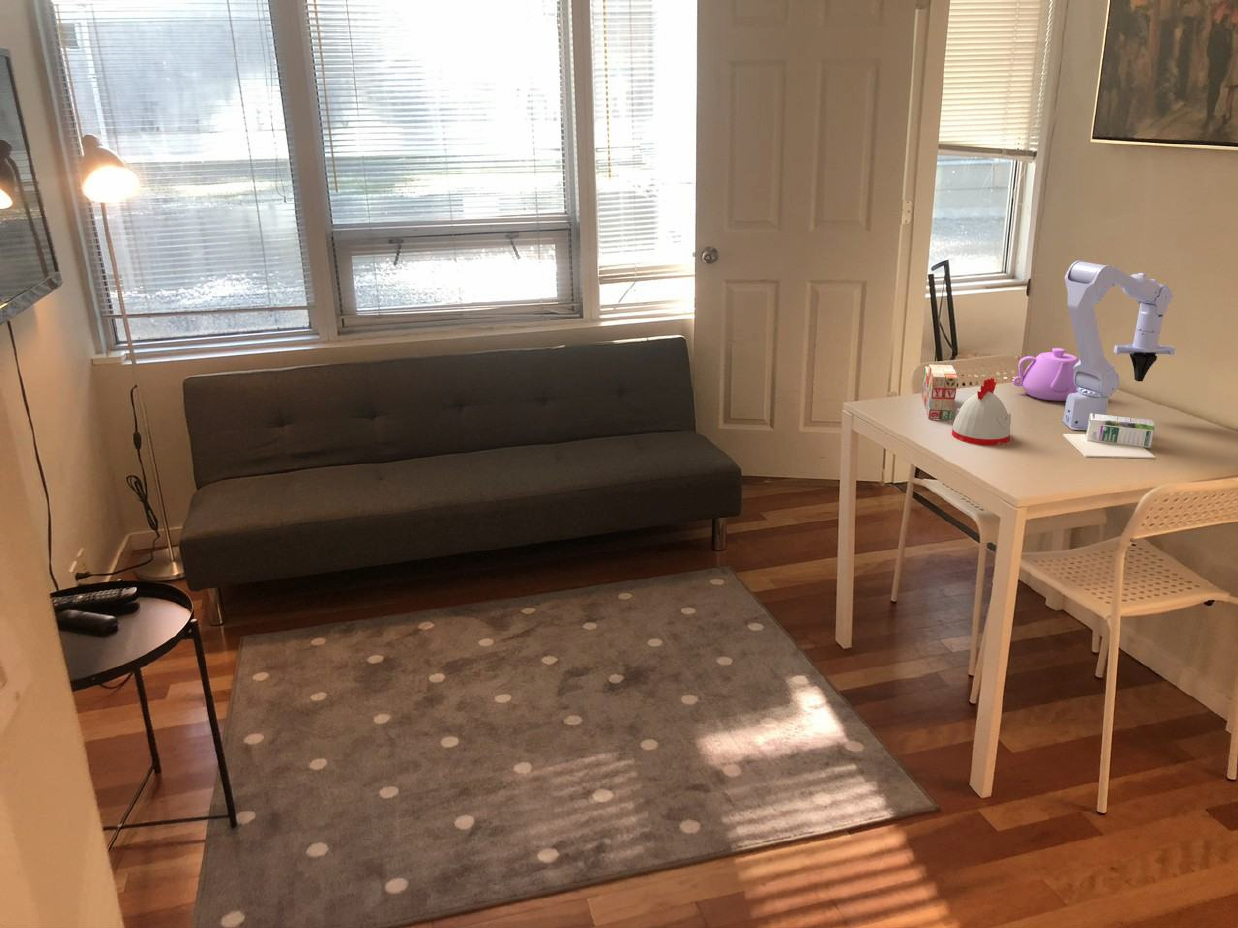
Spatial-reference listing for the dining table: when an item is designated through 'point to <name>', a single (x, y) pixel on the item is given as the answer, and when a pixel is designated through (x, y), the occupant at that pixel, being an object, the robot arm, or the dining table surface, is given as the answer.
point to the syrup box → (1120, 430)
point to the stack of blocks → (939, 391)
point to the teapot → (1048, 375)
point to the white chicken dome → (983, 418)
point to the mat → (1106, 448)
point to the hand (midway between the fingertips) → (1138, 380)
